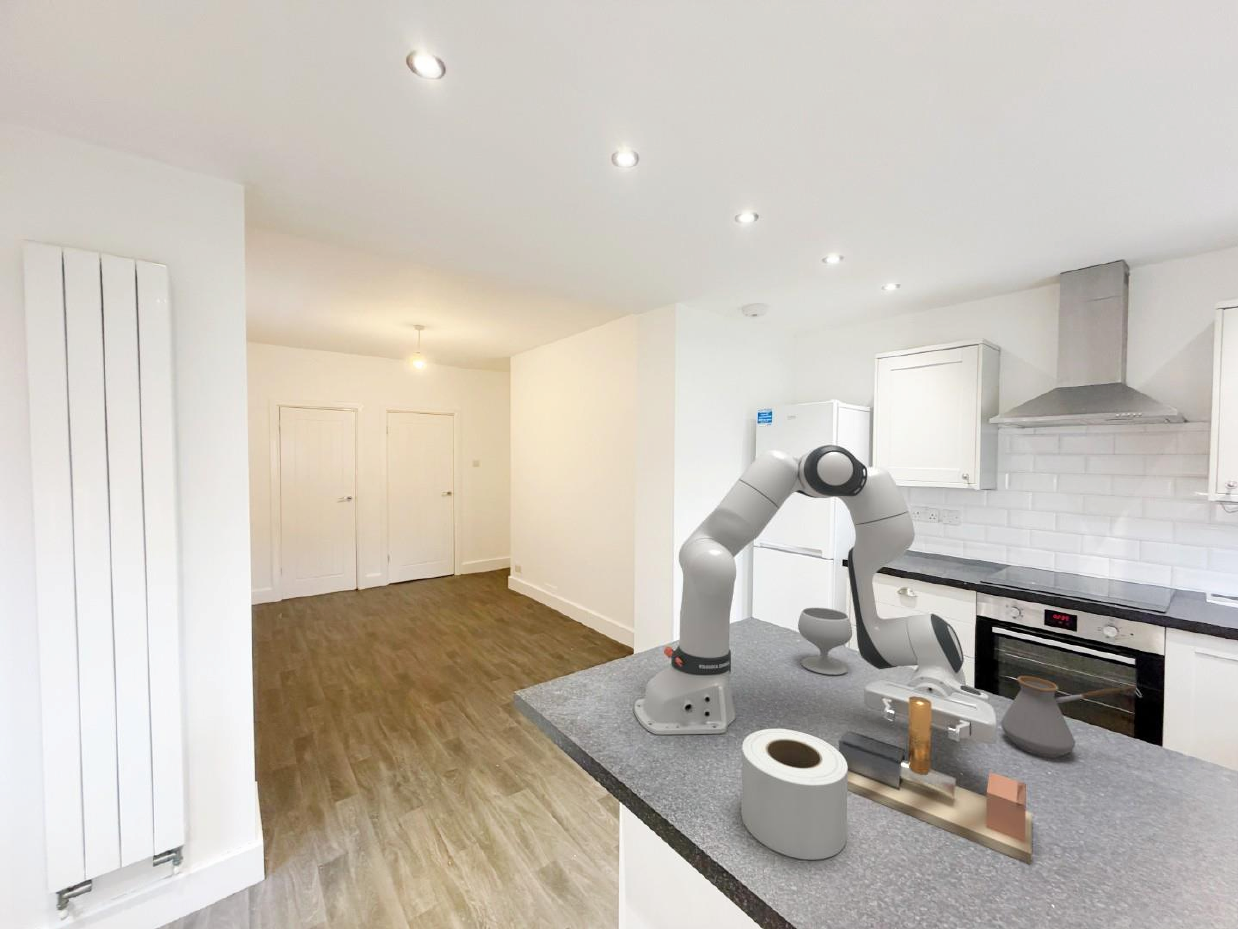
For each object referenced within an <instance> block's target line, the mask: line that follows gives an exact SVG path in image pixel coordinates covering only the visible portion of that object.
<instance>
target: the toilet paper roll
mask: <svg viewBox="0 0 1238 929" xmlns="http://www.w3.org/2000/svg"><path fill="white" fill-rule="evenodd" d="M847 778H848V766H847V762H846V760H845V758H844V757H843V755H842V754H841V753H840V752H839V749H837V748H836V747H835V746H833V745H831V744H830V743H828V742H827V741H825V740H823V739H821V738H819V737H816V736H814V735H811V734H808V733H806V732H802V731H798V730H793V729H787V728H766V729H762V730H761V729H760V730H756V731H754V732H752V733H750V734H748V735H747V736H746V737H745V738H744V740H743V742H742V746H741V793H740V794H741V796H740V797H741V799H740V800H741V801H740V802H741V806H740V807H741V808H740V809H741V810H740V812H741V813H740V814H741V819H742V822H743V824H744V826H745V828H746V829H747V830H748V832H749V833H750V834H751V836H753V837H754V838H755V839H756V840H757V841H759V842H760V843H761V844H762V845H764V846H766V847H767V848H769V849H771V850H773V851H775V852H777V853H779V854H781V855H784V856H787V857H791V858H795V859H800V860H824V859H827V858H832V857H833V856H835V855H837V854H838V853H841V851H842V850H843V849H844V847H845V845H846V842H847V839H848V838H847V834H848V833H847V832H848V830H847V828H848V827H847V826H848V825H847V824H848V822H847V821H848V818H847V817H848V790H847Z"/></svg>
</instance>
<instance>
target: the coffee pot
mask: <svg viewBox="0 0 1238 929" xmlns="http://www.w3.org/2000/svg"><path fill="white" fill-rule="evenodd" d="M1016 681H1017V683H1019V687H1020V690H1019V691H1018V694H1017V695H1016V697H1014V699H1013V701H1012V703H1011V705H1010V706H1009V708H1008V709H1007V711H1006V713H1005V714H1004V716H1003V717H1002V719H1001V721H1000V725H1001V729H1002V730H1003V732H1004V734H1006V736H1007V737H1008V738H1009V739H1010V740H1011V742H1013V744H1015V745H1016V747H1018V748H1020V749H1022V750H1024V751H1027V752H1028V753H1031V754H1034V755H1036V756H1040V757H1044V758H1045V757H1046V758H1060V757H1062V756H1063V755H1066V754H1068V753H1070V752H1071V751H1072V750H1074V748H1075V746H1076V741H1075V738H1074V736H1073V734H1072V731H1071V730H1070V728H1069V726H1068V723H1067V722H1066V720H1065V717H1064V715H1063V713H1062V711H1061V709H1060V707H1059V705H1058V704H1061V703H1067V702H1071V701H1077V700H1083V699H1093V698H1102V697H1103V698H1104V697H1110V696H1113V695H1116V694H1120V693H1121V694H1125V693H1126V692H1134V693H1135V694H1136V696H1138V697H1139V698H1143V695H1142V693H1141V692H1140V690H1139V689H1138V688H1137V686H1136V685H1128V686H1125V687H1123V686H1118V687H1117V688H1116V687H1115V688H1103V689H1098V690H1093V691H1090V692H1085V693H1081V694H1073V695H1067V696H1060V697H1059V696H1058V697H1055V694H1056V692H1058V691H1059V686H1058V685H1057V684H1055V683H1054V682H1052V681H1050V680H1046V679H1042V678H1039V677H1034V676H1027V675H1023V676H1022V675H1021V676H1018V677H1017V678H1016Z"/></svg>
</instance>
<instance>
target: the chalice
mask: <svg viewBox="0 0 1238 929" xmlns="http://www.w3.org/2000/svg"><path fill="white" fill-rule="evenodd" d="M797 623H798V624H797V629H798V632H799V633H800V635H801V637H803V639H805V640H806V641H808V643H811V644H813V645H814V646H815V647H816V648H818V650H819V651H820V655H819V656H808V657H804V658H803V659H801V660H800V664H801V663H802V664H801V665H802V667H803V668H805V669H806V670H809V671H812V672H814V673H819V674H822V675H829V676H841V675H844V674H846V673H847V672H848V671H849V668H848V667H847V666H846V664H844V663H842V662H840V661H838V660H836V659H832V658H829V656H828V654H829V652H830V651H831V650H833V649H835V648H838V647H840V646H843V645H845V644H848V642H849V641H851V640H852V637H853V627H852V623H851V620H850V618H849V616H848V615H847V614H846V613H845V612H843V611H840V610H837V609H833V608H825V607H808V608H807V607H806V608H804V609H803V610H802V611H801V613H800V615H799V618H798V622H797Z"/></svg>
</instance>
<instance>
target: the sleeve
mask: <svg viewBox="0 0 1238 929" xmlns="http://www.w3.org/2000/svg"><path fill="white" fill-rule="evenodd" d="M838 751H839V752H840V753H841V754H842V755H843V757H844V758H845V760H846V762H847V766H848V771H850V772H852V773H855V774H858V775H860V776H863V777H865V778H868V779H871V780H873V781H876V782H878V783H881V784H884V785H886V786H889V787H891V788H894V789H897V790H899V789H900V787H901V784H902V782H903V780H902V779H900V762H901V760H905V761H906V749H905V748H903V747H900V746H899V747H898V746H896V745H893V744H889V743H887V742H885V741H882V740H878V739H876V738H872V737H870V736H867V735H863V734H860V733H857V732H854V731H851V730H849V729H846V731H845V732H844V733H843V734H842V735H841V737H840V739H839V740H838Z"/></svg>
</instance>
